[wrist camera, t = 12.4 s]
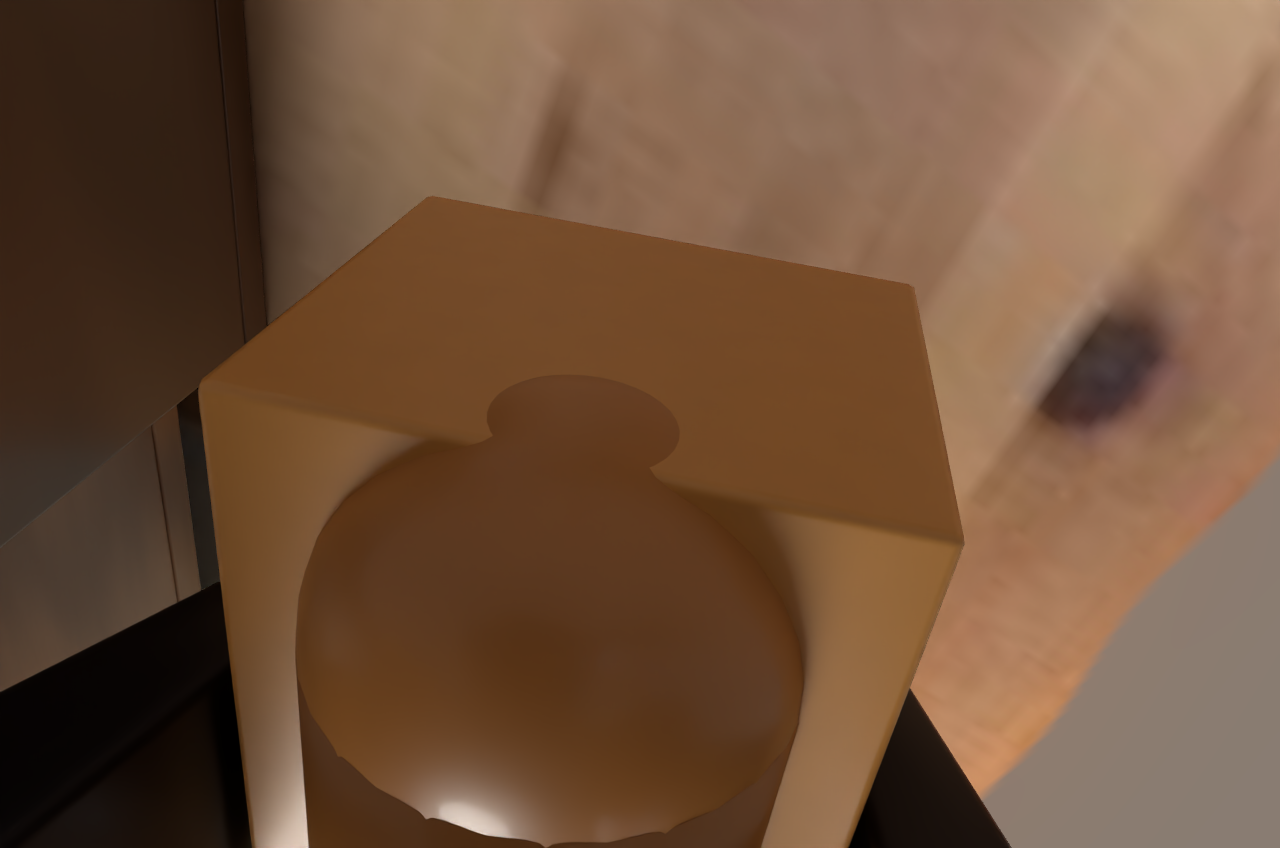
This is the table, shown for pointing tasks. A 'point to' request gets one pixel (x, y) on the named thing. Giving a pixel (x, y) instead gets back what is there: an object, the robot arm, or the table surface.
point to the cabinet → (117, 228)
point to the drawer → (99, 557)
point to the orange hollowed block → (574, 541)
